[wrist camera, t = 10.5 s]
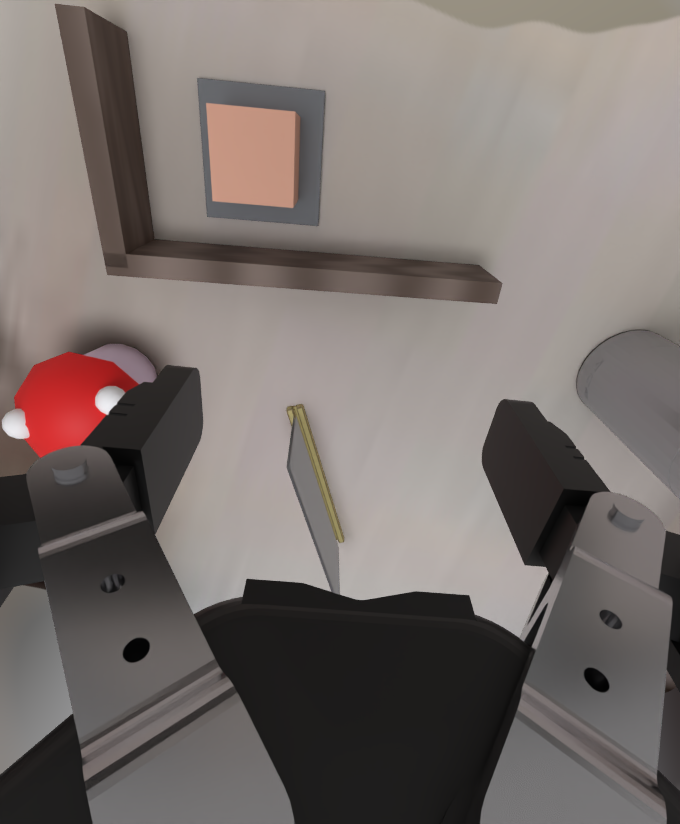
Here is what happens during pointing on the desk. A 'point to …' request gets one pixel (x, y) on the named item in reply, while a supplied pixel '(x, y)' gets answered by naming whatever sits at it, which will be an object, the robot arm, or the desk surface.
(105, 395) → the mushroom
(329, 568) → the sign holder
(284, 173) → the block
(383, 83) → the desk surface
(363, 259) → the brown wooden corner barrier
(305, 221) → the pad
